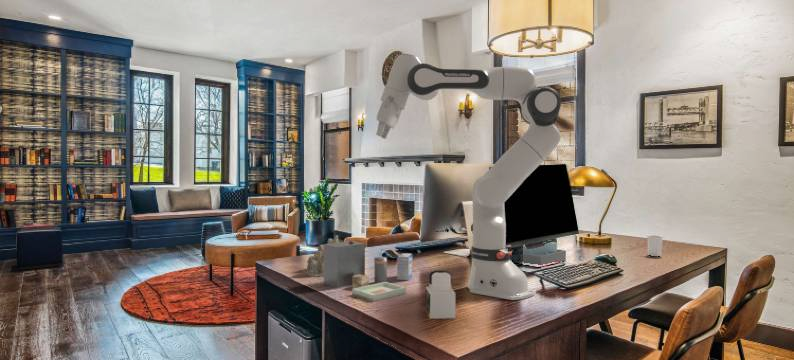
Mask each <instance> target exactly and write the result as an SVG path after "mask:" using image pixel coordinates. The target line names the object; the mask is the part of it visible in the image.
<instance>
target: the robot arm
mask: <svg viewBox="0 0 794 360" xmlns="http://www.w3.org/2000/svg"><path fill="white" fill-rule="evenodd" d="M392 64H393V65H392V66H391V69H390V71H389V74H388V80H387V82H386V84H385V86H384V88H383V92H382V95H381V97H380V101H381V105H380V106H379V109H378V111H377V114H376V121H377V122H378V125H377V130H376V133H375V135H376V136H378V137H380V138H382V139H387V137H388V134H389V132H390V131H391V129H395V127H396V126H397V124H398V121H399V118H400V117H401V114H402V111H404V110H405V107H406V105H407V102H408V99H409V95H410V94H411V95H413V96H415V97H416V98H418V99H419V100H421V101H429V100H432V99H434V98H436V96H437V95H438V94H439V91H440V90H464V91H470V92H471V93H474V94H476V95H477V96H478V97H479V98H481V99H484V100H491V101H492V100H493V101H516V105H517V107H518V111H519V113H520V116H521V119H522V120H523V121H524V122H525V123H526V124H529V127H528V128H527V130H526V131H525V132H524V134H522V135H521V137H520V138H518V139H517V140H516V141H515V143H513V144H512V145H511V146H510V147H509V148H508V149H507V150H506V151H505V152H504V153H503V154H502V155H501V156H500V158H499V159H498V160H496V162H494V164H493V165H492V166H491V167H490V168H489V169H488V170H487V171H486V172H485V173H484V174H483V175H481V176H479V177H478V178H477V179H476V180H475V181H474V183H473V185H472V246H471V248H470V249H471V250H470V251H471V254H470V255H471V270H470V277H469V280H468V283H467V286H466V287H467V289H469V293H470V294H471V293H472V294H476V295H482V296H487V297H494V298H498V299H505V300H510V301H517V300H518V301H519V300H523V299H524V300H525V299H527V298H531V297H533V296H534V295H535V294H536V292H535V289H532V288H529V286H528V278H527V276H526V273H525V272H523V270H522V269H520V268H519V267H518V266H517V264H514V263H513V262H512V259H511V257H510V256H512V252H513V250H512V251H508V249H507V247H506V243H507V242H506V239H507V238H506V237H507V234H506V233H507V228H506V227H507V223H506V211H505V202H506V201H507V200H508V199H509V198H510V197H511V196H512V195H513V193H515V192H516V190H518V188H520V186H521V185H522V184H523V183H524V181H525V180H526V179H527V178H528V177H530V176H531V174H532V173H533V172H534V171H535V170H536V169H537V168H538V167H539V166H540V165H542V163H543V162H544V161H546V159H547V158H548V157H549V156H550V155H551V154H552V153H553V151H554V150H555V148H557V146H558V144H560V141H561V137H562V136H561V133H560V130H559V129H558V127H556V125H555V123H556V122H557V120H558V117H559V114H560V111H561V107H562V99H561V95H560V94H559V93H558V92H557V91H556V90H555V89H553V88H551V87H548V86H547V87H546V86H542V87H538V86H537V80H536V75H535V73H534V72H533V71H532V70H530V69H528V68H523V67H518V66H517V67H516V66H495V67H486V68H477V69H474V68H473V69H466V68H465V69H462V68H461V69H460V68H459V69H458V68H457V69H456V68H454V69H453V68H451V69H450V68H440V67H436V66H434V65H431V64H429V63H422V62H421V61H420V59H419V57H417V56H416V55H412V54H410V53H409V54H408V53H403V54H402V53H401V54H400V55H398V56H397V57H396V58H395V60H394V62H393V63H392Z"/></svg>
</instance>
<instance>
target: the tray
mask: <svg viewBox="0 0 794 360" xmlns="http://www.w3.org/2000/svg"><path fill="white" fill-rule="evenodd" d="M351 292H352V296H354V297H357V298H360V299H363V300H366V301H369V302H372V303H373V302H377V301H381V300H386V299H390V298H394V297H397V296H401V295H405V294H407V287H405V286H402V285H398V284H395V283H391V282H388V281H387V282H382V283H377V284H375V283H373V284H369V285H368V286H363V287H358V288H352V289H351Z"/></svg>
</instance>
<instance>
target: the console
mask: <svg viewBox="0 0 794 360" xmlns="http://www.w3.org/2000/svg"><path fill="white" fill-rule="evenodd" d="M323 245H324V276H323V285H326V286H329V287H331V288H336V289H341V288H344V287H345V288H347V287H351V286H352V285H353V276H355V275H359V274H362V275H366V243H363V242H358V241H353V240H349V241H341V242H340V241H339V242H338V243H331V244H327V243H325V244H323Z"/></svg>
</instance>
